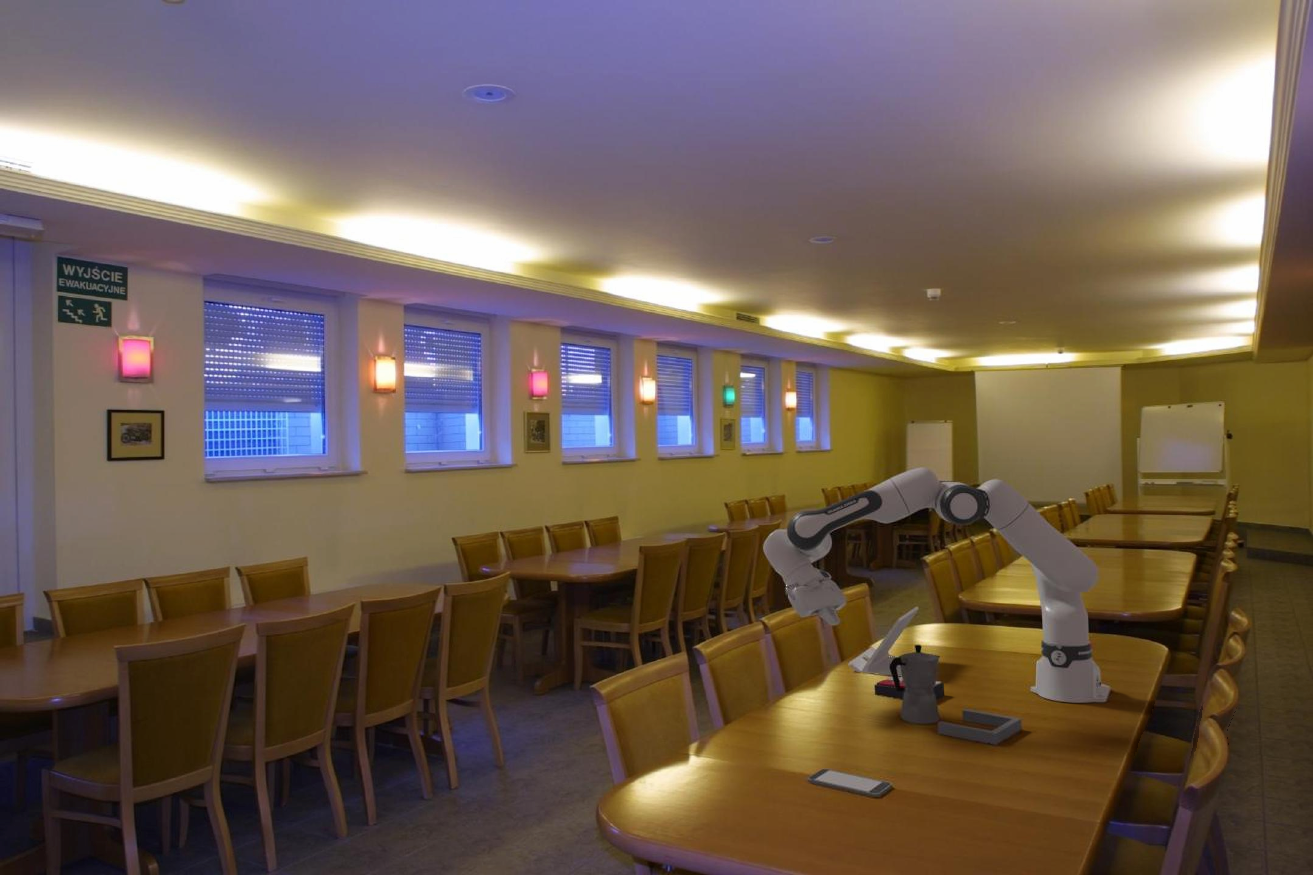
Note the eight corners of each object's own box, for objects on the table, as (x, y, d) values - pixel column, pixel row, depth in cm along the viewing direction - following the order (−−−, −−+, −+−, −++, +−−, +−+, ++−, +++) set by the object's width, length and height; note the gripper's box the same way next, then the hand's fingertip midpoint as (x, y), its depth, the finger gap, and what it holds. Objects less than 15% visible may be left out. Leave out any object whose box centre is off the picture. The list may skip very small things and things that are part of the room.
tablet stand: (927, 660, 284) (925, 606, 284) (909, 678, 262) (907, 619, 262) (870, 655, 292) (868, 603, 293) (847, 672, 271) (846, 615, 271)
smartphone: (877, 794, 169) (806, 778, 178) (877, 800, 169) (806, 783, 178) (893, 783, 175) (823, 767, 184) (893, 788, 175) (823, 773, 184)
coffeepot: (927, 710, 227) (925, 638, 228) (954, 719, 219) (952, 645, 219) (878, 719, 220) (876, 645, 221) (905, 729, 212) (903, 652, 212)
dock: (965, 719, 219) (965, 708, 219) (1021, 729, 210) (1021, 718, 210) (938, 733, 208) (937, 722, 208) (996, 745, 199) (995, 733, 199)
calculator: (893, 674, 252) (944, 679, 242) (894, 690, 252) (945, 696, 241) (873, 682, 244) (925, 687, 234) (874, 698, 243) (926, 704, 233)
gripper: (790, 578, 233) (822, 621, 227) (831, 572, 249) (863, 612, 242) (775, 593, 236) (807, 636, 229) (817, 586, 251) (848, 626, 245)
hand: (836, 623), depth 236 cm, fingers closed
